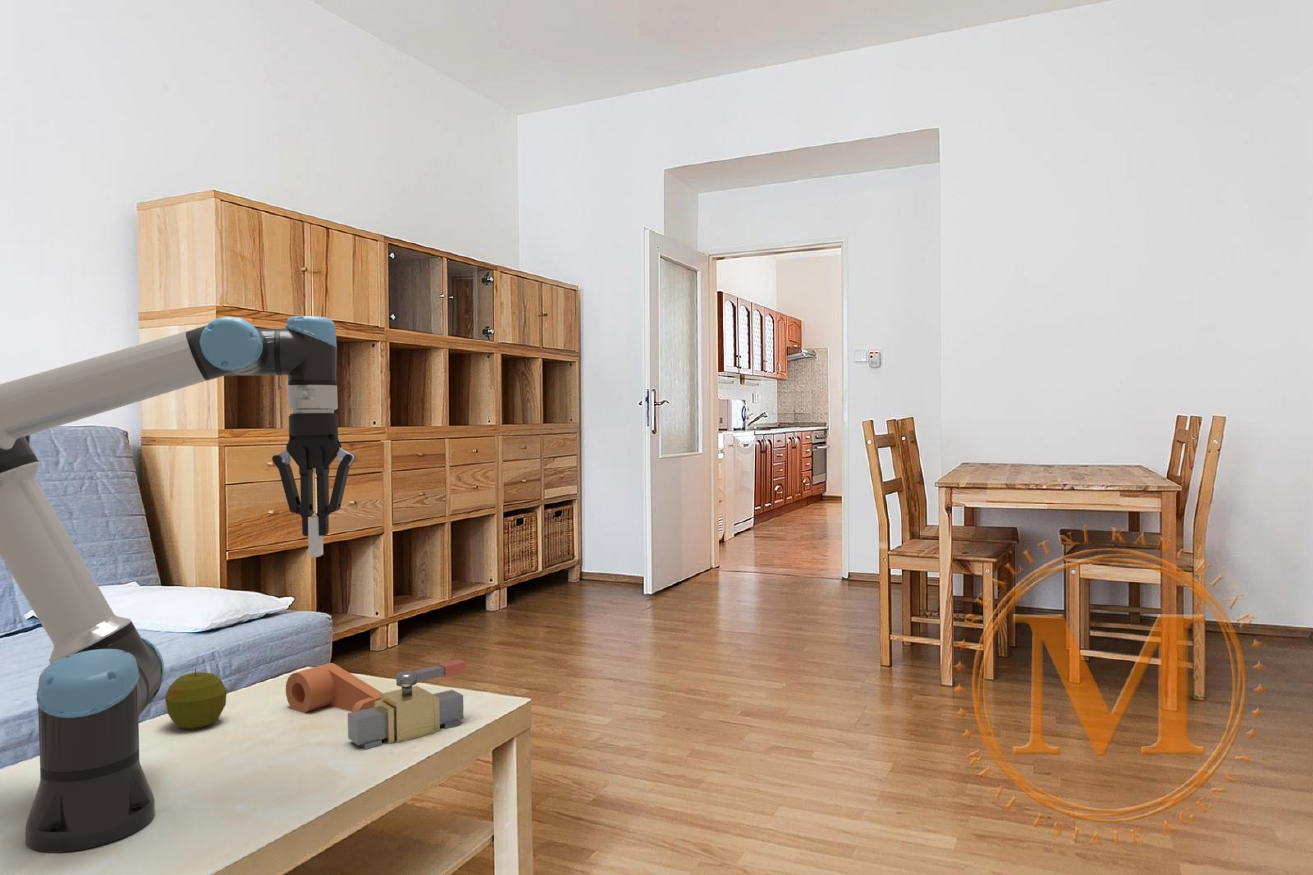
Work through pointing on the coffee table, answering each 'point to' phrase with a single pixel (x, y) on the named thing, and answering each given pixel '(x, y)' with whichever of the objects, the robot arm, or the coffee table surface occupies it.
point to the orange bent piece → (329, 690)
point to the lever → (430, 673)
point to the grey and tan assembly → (405, 716)
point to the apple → (195, 700)
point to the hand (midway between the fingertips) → (316, 555)
